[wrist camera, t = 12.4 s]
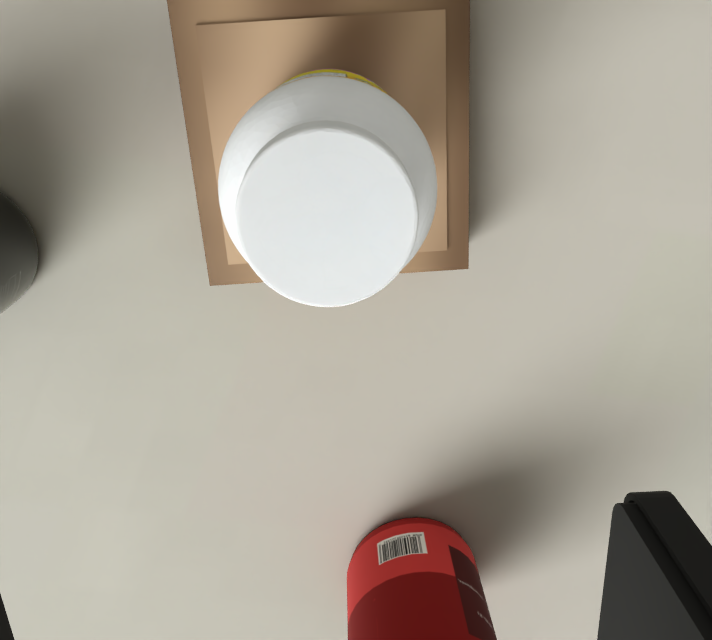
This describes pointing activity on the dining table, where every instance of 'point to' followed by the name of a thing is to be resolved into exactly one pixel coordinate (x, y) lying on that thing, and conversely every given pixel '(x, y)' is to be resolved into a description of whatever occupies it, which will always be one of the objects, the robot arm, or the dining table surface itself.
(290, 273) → the supplement bottle
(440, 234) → the bronze plinth
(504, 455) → the dining table surface
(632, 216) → the dining table surface
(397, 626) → the canned food
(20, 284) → the supplement bottle
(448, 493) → the dining table surface
